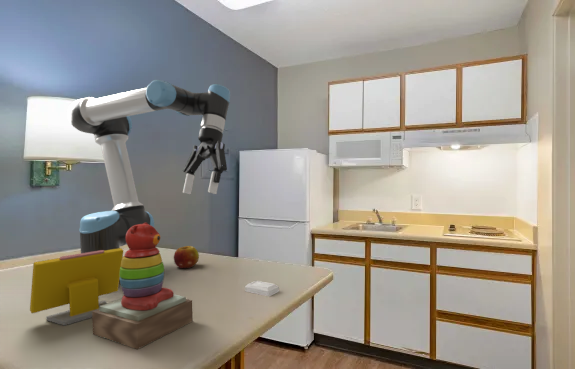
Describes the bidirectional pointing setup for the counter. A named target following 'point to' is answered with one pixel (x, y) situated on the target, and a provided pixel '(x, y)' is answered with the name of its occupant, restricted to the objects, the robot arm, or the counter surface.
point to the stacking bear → (142, 270)
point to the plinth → (141, 321)
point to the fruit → (186, 257)
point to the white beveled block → (262, 288)
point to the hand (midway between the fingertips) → (198, 193)
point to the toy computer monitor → (75, 283)
